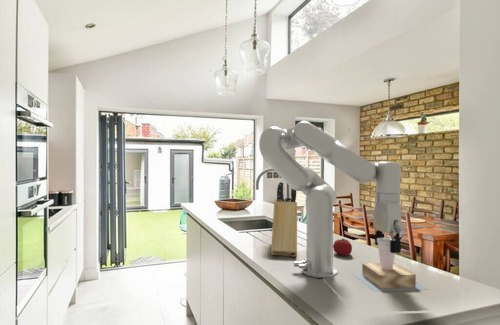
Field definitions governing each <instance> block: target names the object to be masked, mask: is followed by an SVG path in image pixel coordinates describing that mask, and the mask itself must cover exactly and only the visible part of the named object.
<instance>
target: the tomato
mask: <svg viewBox="0 0 500 325" xmlns="http://www.w3.org/2000/svg"><path fill="white" fill-rule="evenodd" d="M352 251H353V246H352V243H351V242H350V241H349V239H345V238H341V239H337V240H334V241H333V252H334V253H335V254H336V255H338V256H341V257H342V256H343V257H346V256H349V255H351V253H352Z"/></svg>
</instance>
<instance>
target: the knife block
mask: <svg viewBox="0 0 500 325" xmlns="http://www.w3.org/2000/svg"><path fill="white" fill-rule="evenodd" d="M290 188H291V187H290ZM290 192H291V193H290V197H291V198H290V197H287V198H284V182H282V181H280V182H279V183H278V185H277V188H276V200H275V201H274V203H273V215H272V229H271V230H272V232H271V245H270V246H271V247H270V248H271V249H270V255H272V256H285V257H286V256H287V257H297V255H298V202H297V201H296V198H297V191H296V190H294V189H292V188H291V189H290Z"/></svg>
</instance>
